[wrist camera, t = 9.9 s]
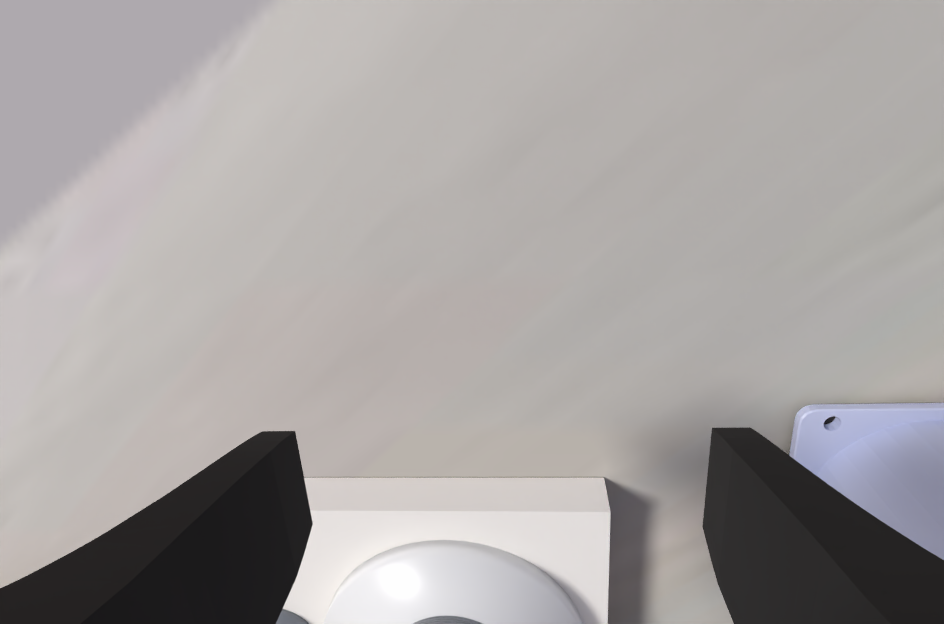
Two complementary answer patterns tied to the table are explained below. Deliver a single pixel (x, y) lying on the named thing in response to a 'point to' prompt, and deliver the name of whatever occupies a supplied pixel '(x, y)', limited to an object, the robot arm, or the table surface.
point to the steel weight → (447, 620)
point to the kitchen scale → (454, 551)
